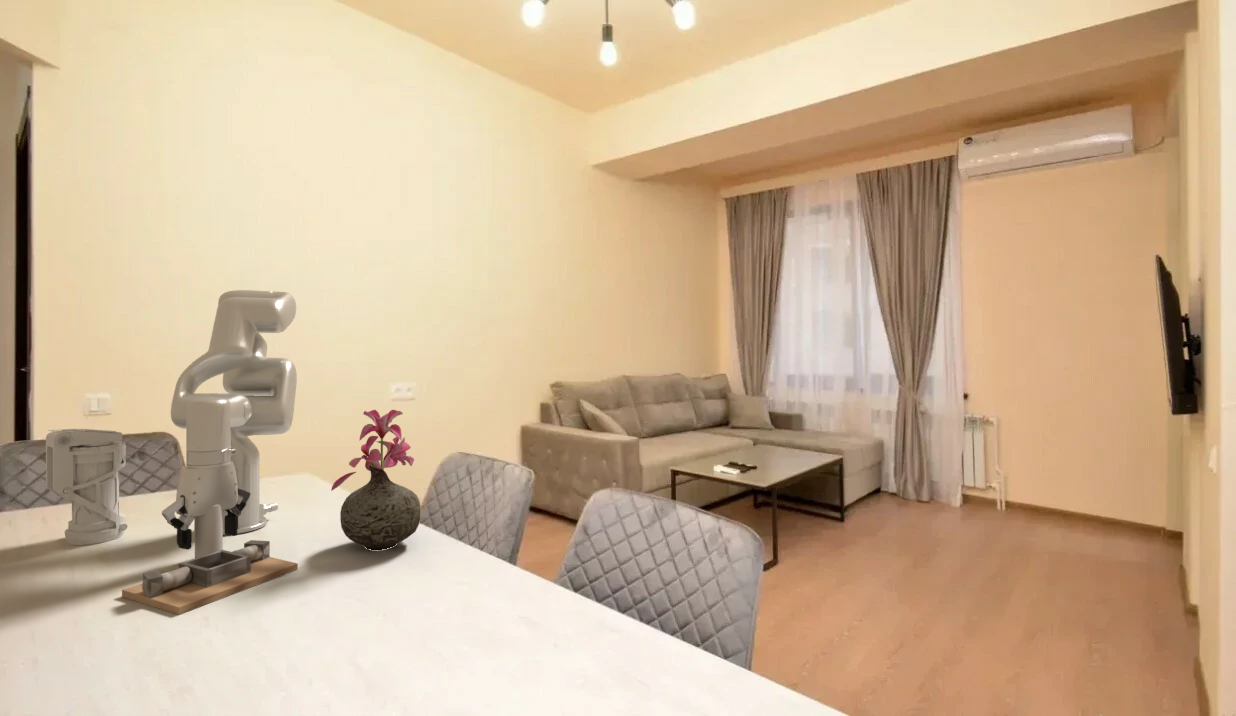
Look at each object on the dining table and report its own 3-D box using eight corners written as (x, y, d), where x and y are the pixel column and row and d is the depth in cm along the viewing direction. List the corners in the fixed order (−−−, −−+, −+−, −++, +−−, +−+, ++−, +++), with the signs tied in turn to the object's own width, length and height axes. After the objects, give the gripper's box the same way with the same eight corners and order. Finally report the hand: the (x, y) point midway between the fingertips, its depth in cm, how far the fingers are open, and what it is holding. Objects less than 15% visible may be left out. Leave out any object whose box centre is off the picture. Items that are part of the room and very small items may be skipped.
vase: (434, 546, 134) (435, 412, 133) (355, 566, 121) (356, 418, 120) (397, 529, 145) (399, 405, 144) (322, 546, 132) (323, 410, 132)
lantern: (114, 527, 142) (114, 422, 142) (134, 536, 137) (133, 426, 136) (41, 543, 131) (40, 428, 131) (59, 552, 126) (58, 433, 125)
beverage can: (208, 564, 121) (208, 504, 121) (188, 562, 122) (188, 503, 122) (228, 555, 126) (228, 498, 125) (208, 553, 127) (209, 497, 126)
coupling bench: (244, 556, 126) (244, 535, 125) (298, 569, 119) (298, 547, 119) (121, 596, 105) (121, 571, 105) (178, 614, 99) (178, 588, 99)
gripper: (238, 449, 133) (237, 527, 133) (150, 463, 117) (150, 551, 117) (261, 452, 130) (260, 532, 130) (174, 467, 114) (174, 557, 114)
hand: (208, 541), depth 124 cm, fingers open, 8 cm apart
